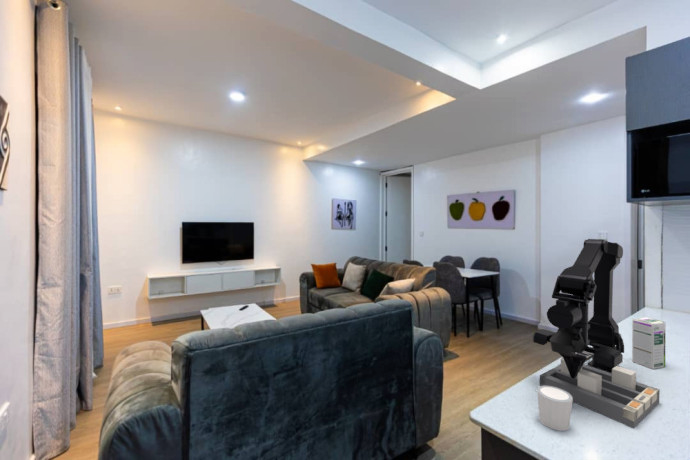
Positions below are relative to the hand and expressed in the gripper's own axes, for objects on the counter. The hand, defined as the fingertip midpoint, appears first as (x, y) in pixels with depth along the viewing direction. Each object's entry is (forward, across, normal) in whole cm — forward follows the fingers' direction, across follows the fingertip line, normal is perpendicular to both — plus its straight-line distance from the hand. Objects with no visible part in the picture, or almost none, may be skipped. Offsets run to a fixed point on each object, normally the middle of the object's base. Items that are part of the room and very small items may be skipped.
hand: (573, 377), depth 83 cm
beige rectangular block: (+3, -3, +5) cm, 6 cm away
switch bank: (+4, +3, +5) cm, 8 cm away
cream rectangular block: (+3, +4, 0) cm, 5 cm away
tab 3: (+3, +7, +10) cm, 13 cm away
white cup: (+5, +3, -17) cm, 18 cm away
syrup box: (+5, +5, +40) cm, 41 cm away
